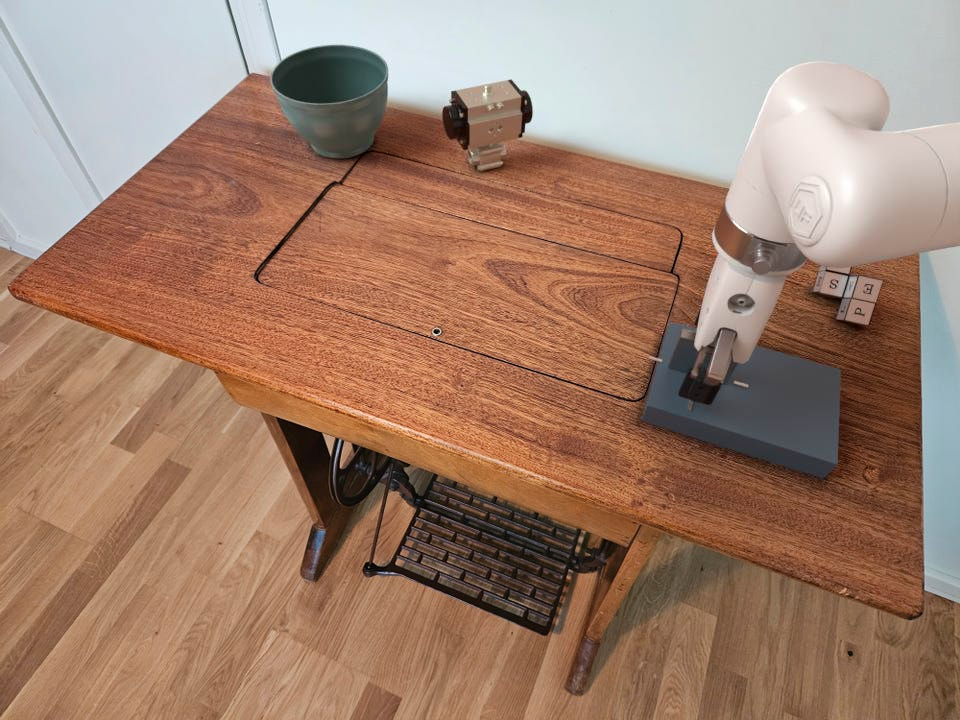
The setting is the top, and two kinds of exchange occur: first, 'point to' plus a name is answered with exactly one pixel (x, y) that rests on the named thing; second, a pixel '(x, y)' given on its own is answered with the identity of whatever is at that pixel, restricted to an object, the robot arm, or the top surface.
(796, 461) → the blue-grey rectangular block
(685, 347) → the lever
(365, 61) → the flower pot
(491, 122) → the pneumatic valve
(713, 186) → the top surface
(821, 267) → the building blocks
